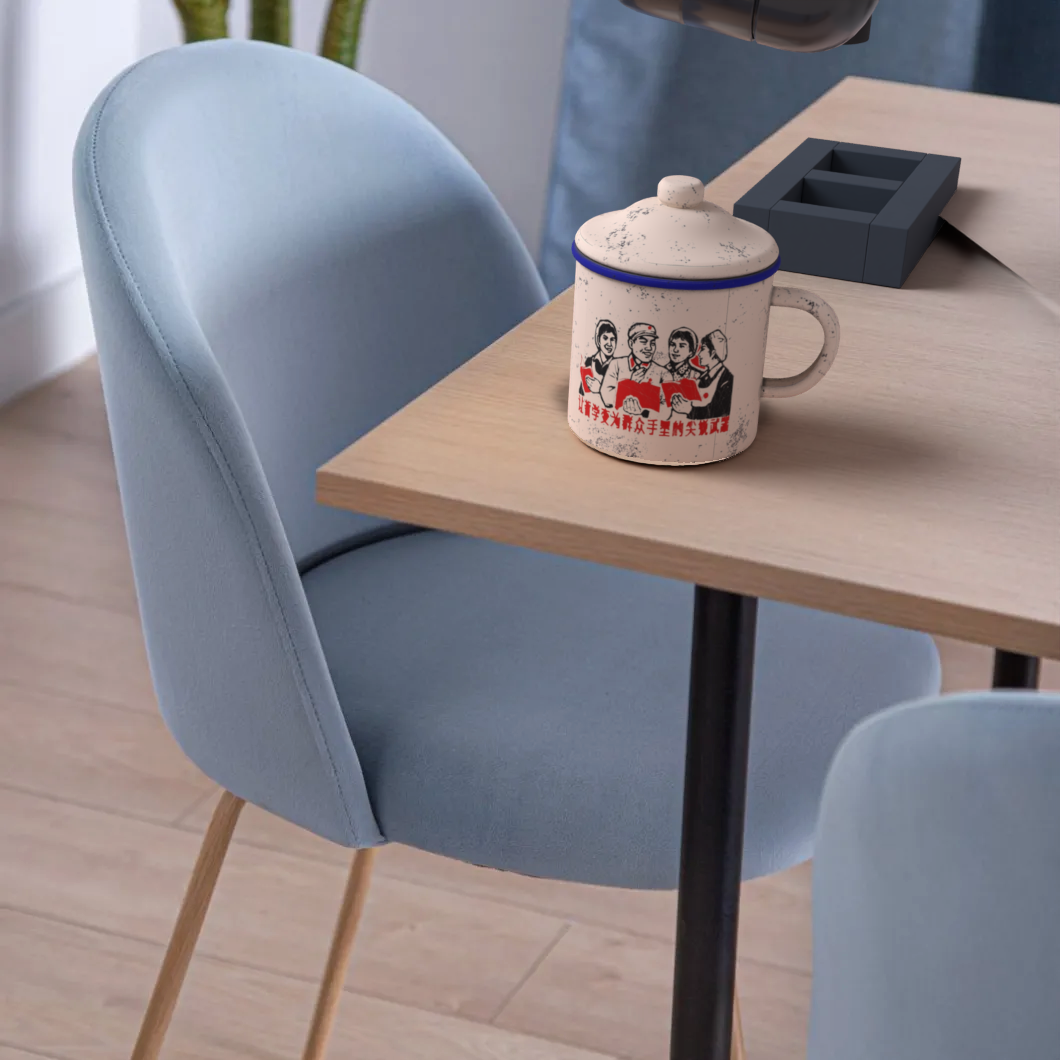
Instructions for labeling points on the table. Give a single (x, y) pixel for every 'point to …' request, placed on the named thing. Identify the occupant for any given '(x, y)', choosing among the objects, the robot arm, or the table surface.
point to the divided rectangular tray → (852, 209)
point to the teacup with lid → (679, 328)
